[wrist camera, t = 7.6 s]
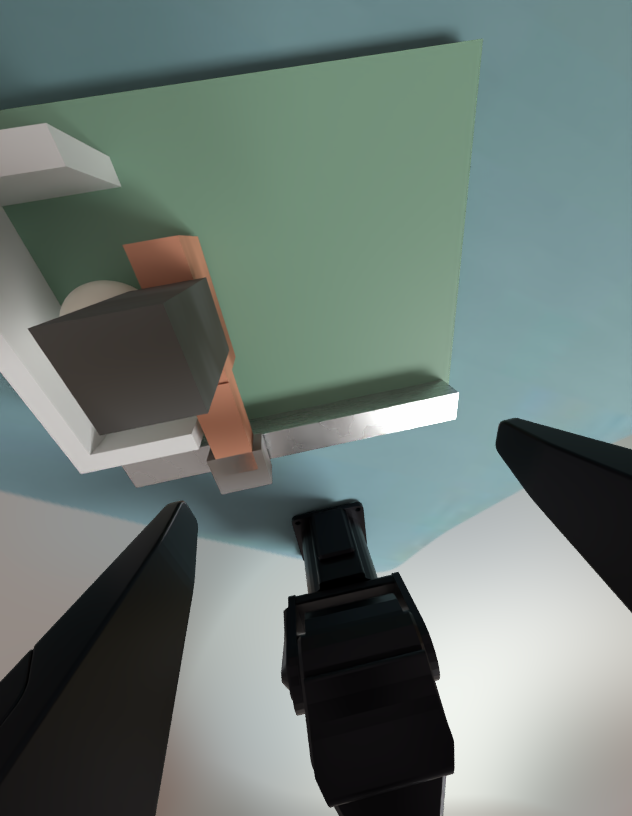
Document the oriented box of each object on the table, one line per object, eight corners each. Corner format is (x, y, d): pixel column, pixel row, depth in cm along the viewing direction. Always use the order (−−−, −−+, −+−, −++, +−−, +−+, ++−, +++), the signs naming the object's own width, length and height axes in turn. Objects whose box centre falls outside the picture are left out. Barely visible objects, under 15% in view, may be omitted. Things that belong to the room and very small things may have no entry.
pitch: (439, 402, 22) (445, 408, 21) (148, 463, 21) (143, 473, 20) (468, 52, 13) (482, 38, 12) (-54, 130, 12) (-79, 121, 11)
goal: (211, 410, 18) (198, 449, 15) (116, 429, 18) (81, 474, 15) (109, 156, 12) (45, 122, 8) (-42, 180, 12) (-171, 155, 8)
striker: (271, 446, 20) (274, 574, 12) (228, 455, 20) (205, 590, 12) (208, 234, 13) (131, 226, 6) (143, 245, 13) (-25, 252, 6)
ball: (80, 377, 14) (156, 348, 17) (109, 393, 12) (193, 356, 14) (26, 293, 12) (122, 274, 15) (49, 291, 10) (159, 269, 12)
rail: (440, 404, 21) (455, 419, 19) (147, 466, 20) (136, 487, 18) (442, 379, 20) (458, 392, 18) (133, 443, 19) (120, 464, 17)
